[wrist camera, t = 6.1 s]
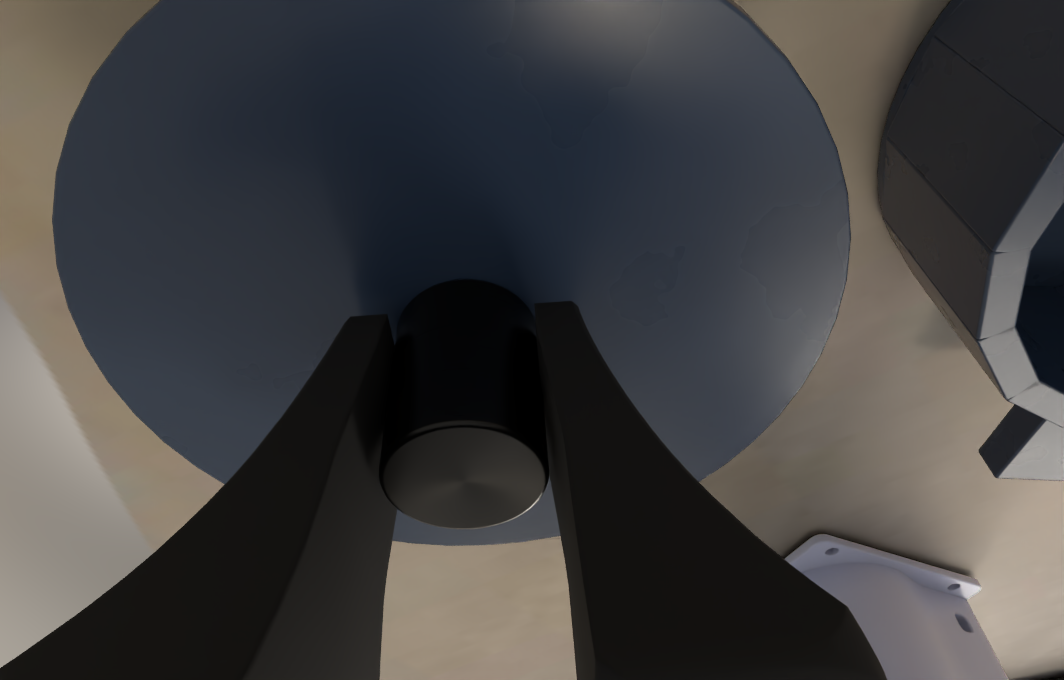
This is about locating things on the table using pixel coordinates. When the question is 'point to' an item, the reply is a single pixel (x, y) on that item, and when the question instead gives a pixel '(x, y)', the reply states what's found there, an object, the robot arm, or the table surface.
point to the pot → (990, 207)
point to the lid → (451, 228)
